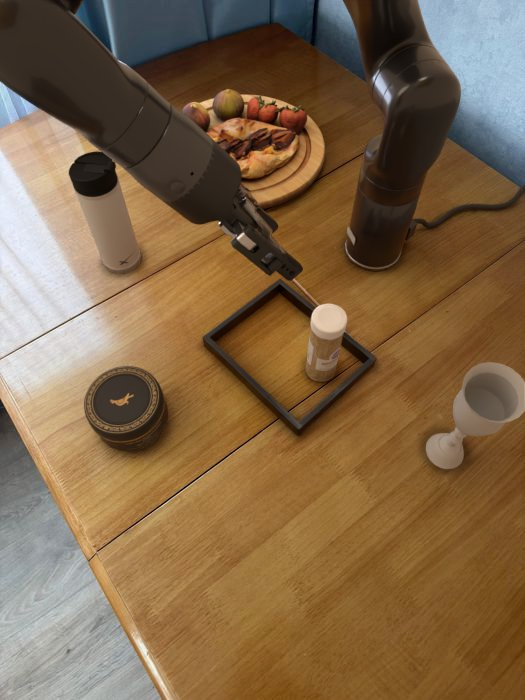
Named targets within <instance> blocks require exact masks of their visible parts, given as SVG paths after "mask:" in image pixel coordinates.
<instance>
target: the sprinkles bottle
mask: <svg viewBox="0 0 525 700" xmlns="http://www.w3.org/2000/svg"><path fill="white" fill-rule="evenodd" d="M347 324H348V315H347V312H346V311H345V310H344V309H343V308H342V307H341V306H340V305H337V304H335V303H322V304H320V305H318V306H317V307H316V309H315V310H314V311H313V313H312V316H311V319H310V325H309V326H310V333H309V337H308V338H309V339H308V345H307V352H306V353H307V354H306V359H307V360H306V363H305V373H306V375H307V376H308V377H309V378H310V379H311V380H313V381H314V382H319V383H324V382H328V381H330V380H331V379H333V378H334V377H335V374H336V373H337V364H338V362H339V358H340V352H341V348H342V345H341V342H342V337H343V333H344V332H346V330H347Z"/></svg>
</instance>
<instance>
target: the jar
mask: <svg viewBox="0 0 525 700" xmlns="http://www.w3.org/2000/svg"><path fill="white" fill-rule="evenodd" d="M83 410H84V415H85V418H86V420H87V422H88V424H89V426H90V427H91V429H92V430H93V432H94V433H95V434H96V435H97V436H98V437H99V438H100V440H101V441H102V442H103V443H104V444H105V445H106V446H108V447H109V448H111V449H113V450H115V451H119V452H123V453H137V452H141V451H144V450H146V449H148V448H150V447H152V446H153V445H154V444H155V443H157V441H158V440H160V438H161V437H162V436H163V434H164V432H165V430H166V427H167V424H168V419H169V410H168V405H167V402H166V399H165V393H164V391H163V389H162V387H161V385H160V383H159V381H158V380H157V378H155V376H154V375H153V374H152V373H151V372H149V371H147V370H146V369H144V368H141V367H138V366H132V365H121V366H116V367H113V368H110V369H108V370H106V371H104V372H102V373H101V374H99V375H98V376H97V377H96V378H95V379H94V380H93V382H92V383H91V384H90V385H89V387H88V389H87V391H86V393H85V396H84V400H83Z"/></svg>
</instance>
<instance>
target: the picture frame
mask: <svg viewBox="0 0 525 700" xmlns="http://www.w3.org/2000/svg"><path fill="white" fill-rule="evenodd" d="M279 294H280V295H281V296H282V297H284V298H285V299H286V300H287V301H289V302H290V303H291V304H292V305H293V306H295V308H297V309H298V310H299V311H300V312H301V313H303V315H305V316H306V317H307V318H308V319H310V320H311V316H312V313H313V311H314V310H315V309H316V308H317V307H315V306H314V305H313V304H312V303H311V302H310V301H309V300H307V299H306V298H305V297H304V296H302V295H301V294H300V293H299V292H297V291H296V290H295V289H294V288H292V286H290V285H289V284H287V283H286V282H285V281H284V280H283V279H282V278H279V279H277V280H276V281H275V282H273V283H272V284H270V285H269V286H268V287H267V288H265V289H264V290H263V291H261V292H260V293H258V294H257V295H256V296H254V297H253V298H252V299H251V300H249V301H248V302H246V303H245V304H244V305H243V306H242V307H240V308H239V309H237V310H235V312H233V313H232V314H230V316H228V317H227V318H225V319H224V320H223V321H222V322H220V323H218V324H217V325H216V326H215V327H213V328H212V329H211V330H209V331H208V332H207V333H206V334H204V335H202V336H201V338H202V343H203V347H204V348H206V349H207V351H209V353H211V354H212V355H213V356H214V357H215V359H217V360H218V361H219V362H220V363H221V364H222V365H223V366H224V367H225V368H226V369H227V370H228V371H229V372H230V373H231V374H232V375H233V376H235V378H236V379H237V380H238V381H240V383H242V384H243V385H244V386H245V387H246V388H247V389H248V390H249V391H250V392H251V393H252V394H253V396H255V397H256V398H257V399H258V400H259V401H260V402H261V403H262V404H263V405H264V406H266V407H267V408H268V409H269V411H271V412H272V413H273V415H275V416H276V417H277V418H278V419H279V420H280V421H281V422H282V423H283V424H284V425H285V426H286V427H287V428H288V429H289V430H290V431H291V432H292V433H293V434H294V435H295V436H296V437H299V436H300V435H302V433H304V431H306V430H307V429H308V428H309V427H310V426H311V425H312V424H314V422H316V421H317V420H318V419H319V418H320V417H321V416H322V415H323V414H324V413H325V412H327V410H329V409H330V408H331V407H332V406H333V405H334V404H335V403H337V401H338V400H340V399H341V398H342V397H343V396H344V395H345V394H346V393H348V391H350V390H351V388H352V387H354V386H355V385H356V384H357V383H358V382H359V381H361V380H362V378H364V377H365V376H366V375H367V374H368V373H370V371H371V370H372V369H373V368H374V367H375V366H376V363H377V360H378V358H377V356H375V355H374V354H373V353H371V352H370V351H369V350H368V349H367V348H365V347H364V346H363V345H362V344H360V342H359V341H357V340H356V339H354V338H353V337H352V336H351V335H350V334H349V333H347V332H346V331H345V332H344V333H343V337H342V342H341V347H343V348H344V349H345V350H347V351H348V352H349V353H350V354H351V355H353V356H354V357H355V358H356V359H357V360H358V361H360V362H361V363H362V364H361V365H360V366H359V367H358V368H356V369H355V370H354V371H353V373H351V374H350V375H349V376H348V377H347V378H346V379H345V380H344V381H342V382H341V383H340V384H339V385H338V386H337V387H336V388H334V390H333V391H331V392H330V393H329V394H328V395H326V397H325V398H324V399H322V400H321V401H320V402H319V403H318V404H317V405H316V406H315V407H314V408H312V409H311V410H310V411H309V412H308V413H307V414H306V415H305V416H303V418H301V419H300V420H299V421H298V420H297V418H295V417H294V416H293V415H292V414H291V413H290V412H289V411H288V410H287V409H286V408H285V407H283V405H281V403H279V402H278V401H277V400H276V399H275V398H274V397H273V396H272V395H271V394H270V393H269V392H268V391H267V390H266V389H265V388H264V387H263V386H262V385H261V384H260V383H259V382H257V381H256V380H255V379H254V378H253V377H252V376H251V375H250V374H249V373H248V372H247V371H246V370H245V369H244V368H243V367H241V365H240V364H239V363H237V361H235V359H233V357H231V356H230V355H229V354H228V353H227V352H226V351H225V350H224V349H223V348H222V347H221V346H220V345H219V344H218V343H217V342H218V341H219V340H221V339H222V338H223V337H225V336H226V335H227V334H228V333H230V332H231V331H232V330H234V329H235V328H236V327H238V326H239V325H240V324H241V323H244V321H245V320H247V319H248V318H249V317H251V316H252V315H253V314H255V313H256V312H258V310H260V309H261V308H262V307H263V306H265V305H266V304H267V303H269V302H270V301H271V300H273V299H274V298H276V297H277V296H278V295H279Z"/></svg>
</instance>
